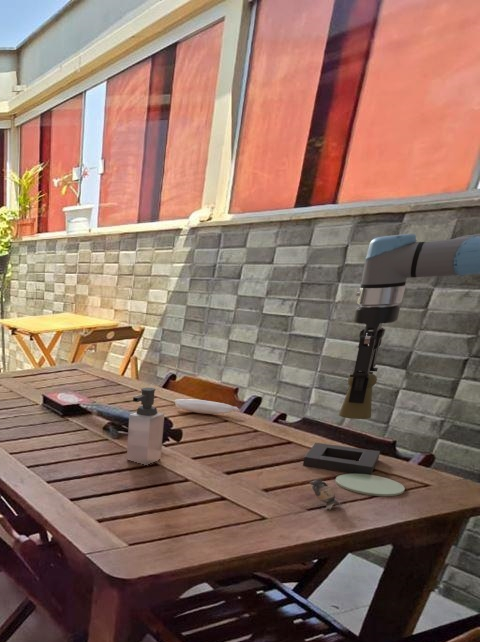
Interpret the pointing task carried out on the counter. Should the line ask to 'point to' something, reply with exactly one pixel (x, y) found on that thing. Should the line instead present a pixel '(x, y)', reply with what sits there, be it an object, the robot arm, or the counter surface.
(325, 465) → the frame
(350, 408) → the cork
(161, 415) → the soap dispenser
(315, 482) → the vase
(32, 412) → the counter surface
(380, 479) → the coaster
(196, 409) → the white tapered cylinder
